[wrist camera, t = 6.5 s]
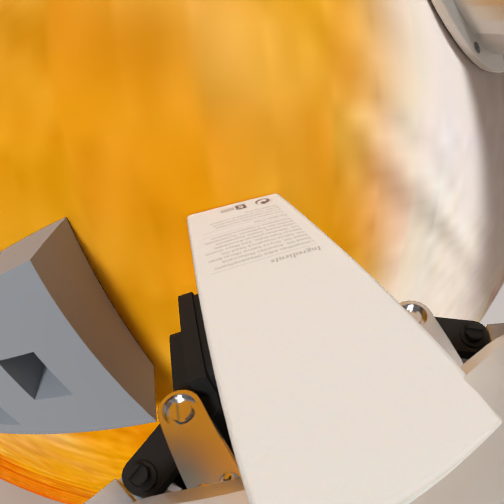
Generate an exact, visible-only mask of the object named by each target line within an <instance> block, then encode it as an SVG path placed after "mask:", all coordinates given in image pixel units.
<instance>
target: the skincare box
mask: <svg viewBox="0 0 504 504" xmlns="http://www.w3.org/2000/svg"><path fill="white" fill-rule="evenodd" d="M187 224H188V231H189V238H190V244H191V250H192V256H193V264H194V270H195V276H196V282H197V289H198V295H199V301H200V306H201V311H202V316H203V321H204V327H205V332H206V337H207V341H208V346H209V351H210V356H211V360H212V365H213V370H214V374H215V379H216V383H217V387H218V391H219V396H220V400H221V404H222V408H223V412H224V416H225V420H226V424H227V428H228V432H229V436H230V440H231V443H232V447H233V451H234V454H235V458H236V461H237V465H238V468H239V472H240V475H241V478H242V481H243V485H244V488H245V491H246V494H247V497H248V500H249V503H250V504H409V503H410V502H412V501H413V500H415V499H416V498H417V497H419V496H420V495H422V494H423V493H424V492H426V491H427V490H428V489H430V488H431V487H432V486H434V485H435V484H436V483H438V482H439V481H440V480H441V479H443V478H444V477H445V476H446V475H448V474H449V473H450V472H451V471H452V470H453V469H455V468H456V467H457V466H458V465H459V464H460V463H461V462H462V461H463V460H464V459H465V458H467V457H468V456H469V455H470V454H471V453H472V452H473V451H474V450H475V449H476V448H477V447H478V446H480V445H481V444H482V443H483V442H484V441H485V440H486V439H487V438H488V437H489V436H490V435H491V434H492V433H493V432H494V431H495V430H496V429H497V428H498V427H499V426H500V424H501V423H502V420H501V418H500V417H499V416H498V415H497V414H496V413H495V412H494V411H493V410H492V409H491V408H490V407H489V406H488V404H487V403H486V402H485V401H484V400H483V398H482V397H481V396H480V395H479V393H478V392H477V391H476V390H475V389H473V388H472V387H471V386H470V385H469V384H468V383H467V382H466V381H465V380H464V379H463V377H464V376H465V375H466V374H465V373H464V371H463V370H462V369H461V368H460V367H459V365H458V364H457V363H456V362H455V361H454V360H453V359H452V358H451V357H450V355H449V354H448V353H447V352H446V351H445V350H444V349H443V348H442V347H441V346H440V345H439V344H438V343H437V341H436V340H435V339H434V338H433V337H432V336H431V335H430V334H429V333H428V332H427V331H426V330H425V329H424V328H423V327H422V326H421V325H420V324H419V323H418V322H417V321H416V319H415V318H414V317H413V316H412V315H410V314H409V313H408V312H407V311H406V310H405V309H404V308H403V307H402V306H401V305H400V304H399V302H398V301H397V300H396V299H395V298H394V297H393V296H392V295H391V294H389V293H388V292H387V291H386V290H385V289H384V288H383V287H382V286H381V285H380V284H379V283H378V282H377V281H376V280H375V279H374V278H373V277H372V276H371V275H370V274H368V273H367V272H366V271H365V270H364V269H363V268H362V267H361V266H360V265H359V264H358V263H357V262H356V261H355V260H354V259H353V258H351V257H350V256H349V255H348V254H347V253H346V252H345V251H344V250H343V249H341V248H340V247H339V246H338V245H337V244H336V243H335V242H334V241H332V240H331V239H330V238H329V237H328V236H327V235H326V234H325V233H323V232H322V231H321V230H320V229H319V228H318V227H317V226H315V225H314V224H313V223H312V222H311V221H310V220H309V219H307V218H306V217H305V216H304V215H303V214H302V213H300V212H299V211H298V210H297V209H296V208H294V207H293V206H292V205H291V204H290V203H289V202H287V201H286V200H285V199H283V198H282V197H281V196H280V195H279V194H271V195H267V196H263V197H259V198H255V199H251V200H247V201H243V202H239V203H235V204H231V205H227V206H223V207H219V208H215V209H211V210H208V211H204V212H200V213H196V214H192V215H190V216H188V217H187Z"/></svg>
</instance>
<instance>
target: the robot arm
mask: <svg viewBox="0 0 504 504" xmlns="http://www.w3.org/2000/svg"><path fill="white" fill-rule="evenodd" d="M431 1H432V3H433V5H434V7H435V9H436V11H437V13H438V14H439V16H440V18H441V19H442V21H443V23H444V25H445V26H446V28H447V29H448V31H449V32H450V34H451V35H452V37H453V38H454V40H455V41H456V43H457V44H458V45H459V47H460V48H461V49H462V51H463V52H464V53H465V54H466V55H467V56H468V57H469V58H470V60H471V61H472V62H473V63H475V64H476V65H477V66H478V67H479V68H481V69H483V70H485V71H487V72H495V73H501V72H504V0H431ZM178 302H179V314H180V325H181V332H179V333H175V334H172V335H170V353H171V366H172V378H173V388H174V392H172V393H170V394H168V395H167V396H166V397H165V398H164V399H163V400H162V401H161V403H160V405H159V407H158V412H157V413H158V419H159V422H160V424H159V425H158V427H157V428H156V429H155V430H154V431H153V433H152V434H151V435H150V436H149V437H148V439H147V440H146V441H145V442H144V443H143V445H142V446H141V447H140V448H139V449H138V451H137V452H136V453H135V454H134V455H133V457H132V458H131V459H130V460H129V461H128V462H127V464H126V465H125V467H124V468H123V472H122V478H120V479H119V480H117V479H114V480H113V481H112V482H111V483H109V484H108V485H107V486H106V487H104V488H103V489H102V490H101V491H99V492H98V493H97V494H96V495H94V496H93V497H92V498H90V499H89V500H88V501H86V502H85V503H84V504H250V503H249V500H248V497H247V494H246V491H245V488H244V485H243V481H242V478H241V475H240V472H239V468H238V465H237V461H236V458H235V454H234V451H233V447H232V443H231V440H230V436H229V432H228V428H227V424H226V420H225V416H224V412H223V408H222V404H221V400H220V396H219V391H218V387H217V383H216V379H215V374H214V370H213V365H212V360H211V356H210V351H209V346H208V341H207V337H206V332H205V327H204V321H203V316H202V311H201V306H200V301H199V295H198V294H196V295H194V294H193V292H190V293H187V294H184V295H181V296H179V297H178ZM399 304H400V305H401V306H402V307H403V308H404V309H405V310H406V311H407V312H408V313H409V314H410V315H412V316H413V317H414V318H415V319H416V321H417V322H418V323H419V324H420V325H421V326H422V327H423V328H424V329H425V330H426V331H427V332H428V333H429V334H430V335H431V336H432V337H433V338H434V339H435V340H436V341H437V343H438V344H439V345H440V346H441V347H442V348H443V349H444V350H445V351H446V352H447V353H448V354H449V355H450V357H451V358H452V359H453V360H454V361H455V362H456V363H457V364H458V365H459V367H460V368H461V369H462V370H463V371H464V373H465V374H466V375H465V376H464V377H463V379H464V380H465V381H466V382H467V383H468V384H469V385H470V386H471V387H472V388H473V389H475V390H476V391H477V392H478V393H479V395H480V396H481V397H482V398H483V400H484V401H485V402H486V403H487V404H488V406H489V407H490V408H491V409H492V410H493V411H494V412H495V413H496V414H497V415H498V416H499V417H500V418H501V420H502V423H501V424H500V426H499V427H498V428H497V429H496V430H495V431H494V432H493V433H492V434H491V435H490V436H489V437H488V438H487V439H486V440H485V441H484V442H483V443H482V444H481V445H480V446H478V447H477V448H476V449H475V450H474V451H473V452H472V453H471V454H470V455H469V456H468V457H467V458H465V459H464V460H463V461H462V462H461V463H460V464H459V465H458V466H457V467H456V468H455V469H453V470H452V471H451V472H450V473H449V474H448V475H446V476H445V477H444V478H443V479H441V480H440V481H439V482H438V483H436V484H435V485H434V486H432V487H431V488H430V489H428V490H427V491H426V492H424V493H423V494H422V495H420V496H419V497H417V498H416V499H415V500H413V501H412V502H410V503H409V504H504V323H502V324H488V325H487V326H486V327H485V326H483V325H482V324H480V323H479V322H475V321H468V320H459V319H449V318H440V317H434V316H433V314H432V313H431V311H430V310H429V309H428V308H427V307H426V306H425V305H424V304H422V303H420V302H417V301H404V302H401V303H399Z"/></svg>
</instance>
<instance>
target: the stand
mask: <svg viewBox="0 0 504 504" xmlns="http://www.w3.org/2000/svg"><path fill="white" fill-rule="evenodd" d="M156 421H157V417H156V401H155V378H154V365H153V364H152V362H151V361H150V360H149V358H148V357H147V356H146V354H145V353H144V351H143V350H142V349H141V347H140V346H139V344H138V343H137V341H136V340H135V339H134V337H133V336H132V334H131V333H130V331H129V330H128V328H127V327H126V325H125V324H124V322H123V321H122V319H121V317H120V316H119V314H118V313H117V311H116V310H115V308H114V306H113V305H112V303H111V301H110V300H109V298H108V296H107V295H106V293H105V291H104V290H103V288H102V286H101V284H100V283H99V281H98V279H97V277H96V276H95V274H94V272H93V270H92V268H91V266H90V265H89V263H88V261H87V259H86V257H85V255H84V253H83V251H82V249H81V247H80V245H79V243H78V241H77V239H76V237H75V235H74V233H73V231H72V228H71V226H70V224H69V222H68V220H67V217H65V218H63V219H61V220H59V221H57V222H55V223H53V224H51V225H49V226H47V227H45V228H43V229H41V230H39V231H37V232H35V233H33V234H32V235H30V236H28V237H26V238H24V239H22V240H20V241H19V242H17V243H15V244H13V245H12V246H10V247H8V248H6V249H5V250H3V251H1V252H0V433H9V434H60V433H77V432H88V431H98V430H107V429H114V428H122V427H128V426H134V425H140V424H146V423H151V422H156Z"/></svg>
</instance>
